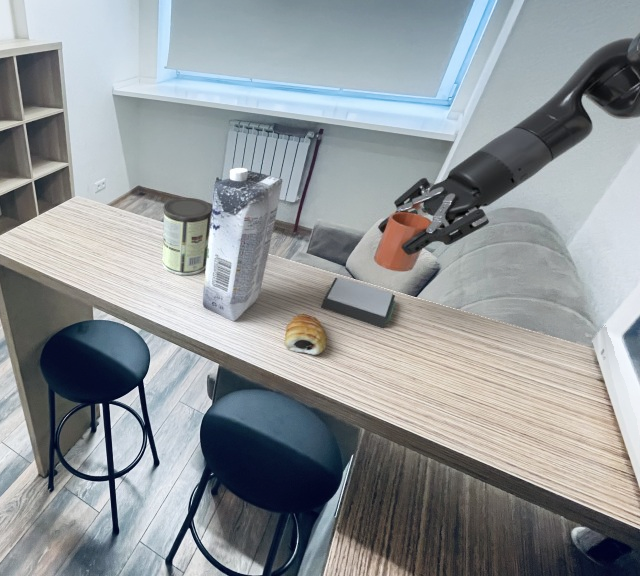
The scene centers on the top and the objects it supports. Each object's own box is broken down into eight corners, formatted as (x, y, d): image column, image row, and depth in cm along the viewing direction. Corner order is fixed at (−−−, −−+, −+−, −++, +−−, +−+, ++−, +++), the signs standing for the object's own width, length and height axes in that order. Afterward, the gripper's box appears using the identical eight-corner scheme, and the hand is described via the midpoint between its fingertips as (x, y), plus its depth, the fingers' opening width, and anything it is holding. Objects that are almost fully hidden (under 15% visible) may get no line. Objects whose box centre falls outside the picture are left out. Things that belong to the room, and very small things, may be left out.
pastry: (286, 318, 77) (291, 302, 75) (324, 326, 75) (330, 310, 73) (281, 350, 70) (286, 333, 68) (323, 360, 68) (330, 344, 66)
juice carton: (262, 301, 82) (291, 169, 66) (235, 327, 75) (260, 188, 60) (223, 285, 87) (242, 158, 71) (195, 308, 80) (209, 174, 65)
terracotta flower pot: (419, 263, 70) (439, 220, 65) (403, 275, 67) (423, 232, 62) (383, 249, 74) (400, 209, 69) (367, 261, 71) (383, 219, 66)
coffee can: (179, 248, 100) (183, 193, 92) (214, 262, 94) (222, 205, 86) (152, 264, 94) (153, 207, 86) (188, 281, 88) (193, 222, 80)
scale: (393, 304, 80) (398, 293, 79) (385, 329, 74) (391, 317, 73) (332, 286, 86) (336, 274, 84) (321, 307, 80) (324, 296, 78)
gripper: (454, 137, 65) (359, 208, 72) (531, 167, 54) (409, 249, 60) (471, 168, 69) (378, 234, 75) (546, 203, 57) (429, 277, 63)
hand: (392, 240), depth 68 cm, fingers closed on terracotta flower pot, 6 cm apart
